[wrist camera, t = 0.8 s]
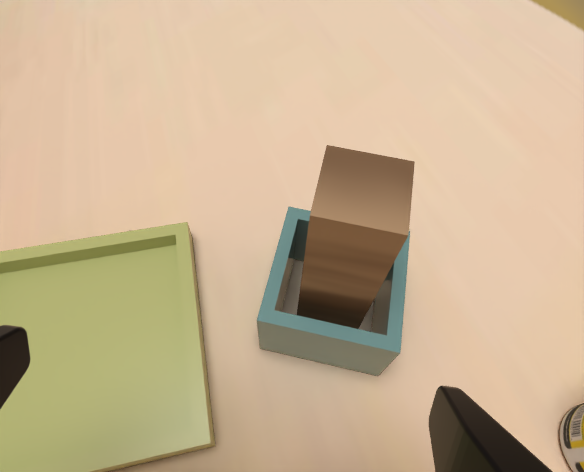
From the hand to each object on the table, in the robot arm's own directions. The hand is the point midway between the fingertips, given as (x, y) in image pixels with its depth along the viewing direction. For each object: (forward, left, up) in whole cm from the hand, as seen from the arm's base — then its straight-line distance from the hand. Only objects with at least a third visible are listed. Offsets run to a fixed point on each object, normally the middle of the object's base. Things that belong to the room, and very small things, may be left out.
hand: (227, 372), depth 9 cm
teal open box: (+5, -7, -15) cm, 17 cm away
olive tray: (+8, +7, -15) cm, 18 cm away
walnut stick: (+5, -7, -15) cm, 17 cm away
